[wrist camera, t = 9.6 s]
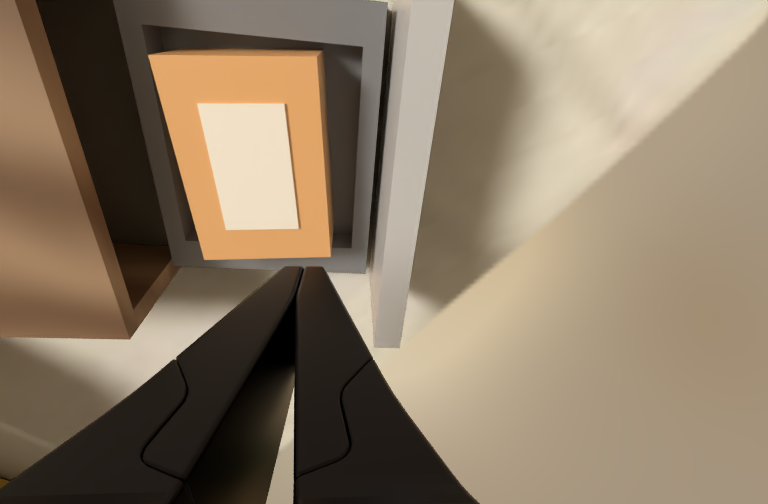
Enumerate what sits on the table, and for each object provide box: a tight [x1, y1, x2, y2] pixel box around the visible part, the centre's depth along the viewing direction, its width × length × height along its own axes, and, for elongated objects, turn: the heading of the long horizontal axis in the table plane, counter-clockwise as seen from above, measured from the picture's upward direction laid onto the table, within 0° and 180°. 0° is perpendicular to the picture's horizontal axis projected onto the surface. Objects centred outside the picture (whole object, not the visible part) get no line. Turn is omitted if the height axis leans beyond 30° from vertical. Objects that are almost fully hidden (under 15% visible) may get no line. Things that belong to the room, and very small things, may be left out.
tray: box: [113, 0, 454, 348], centre depth 16 cm, size 15×11×6 cm
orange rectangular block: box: [148, 48, 334, 260], centre depth 16 cm, size 8×6×4 cm
